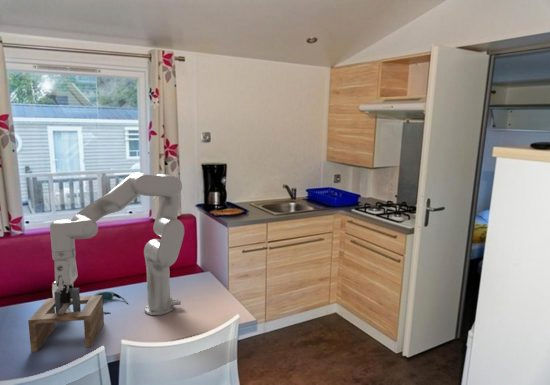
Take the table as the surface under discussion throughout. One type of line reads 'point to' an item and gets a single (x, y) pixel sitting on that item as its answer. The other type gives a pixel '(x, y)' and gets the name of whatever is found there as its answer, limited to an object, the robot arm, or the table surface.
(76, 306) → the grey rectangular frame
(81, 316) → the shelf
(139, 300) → the table surface
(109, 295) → the sunglasses
